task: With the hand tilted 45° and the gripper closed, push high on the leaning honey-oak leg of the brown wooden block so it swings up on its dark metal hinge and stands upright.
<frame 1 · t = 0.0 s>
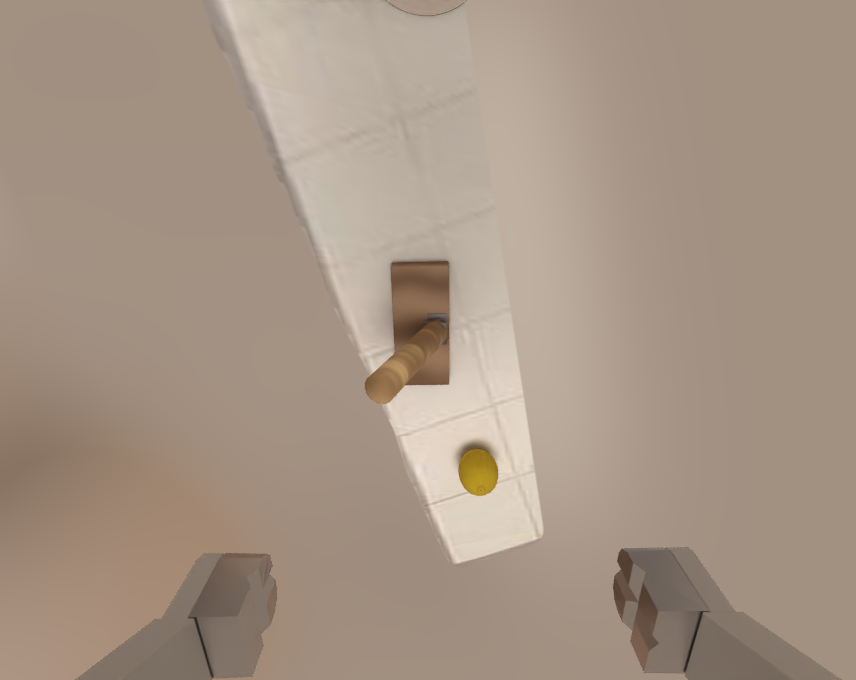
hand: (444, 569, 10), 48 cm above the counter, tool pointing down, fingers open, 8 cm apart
brown wooden block: (421, 322, 59), on the counter
lemon: (475, 453, 67), on the counter
folding leg: (413, 355, 49), point 11 cm above the counter, hinge at 20.0°
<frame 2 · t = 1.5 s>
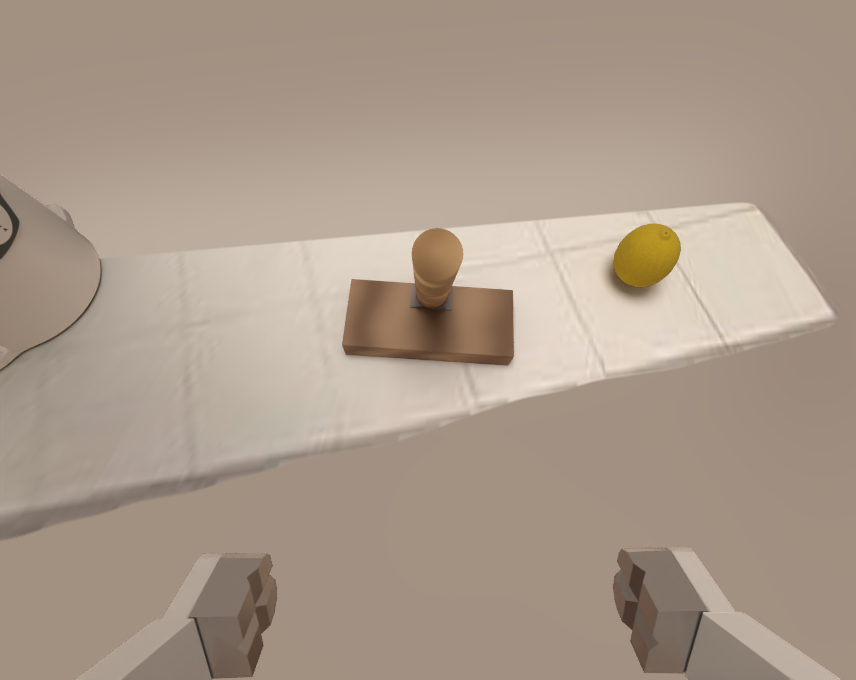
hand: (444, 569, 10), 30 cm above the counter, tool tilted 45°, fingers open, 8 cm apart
brown wooden block: (429, 327, 45), on the counter
lemon: (626, 278, 48), on the counter
folding leg: (433, 278, 35), point 11 cm above the counter, hinge at 20.0°
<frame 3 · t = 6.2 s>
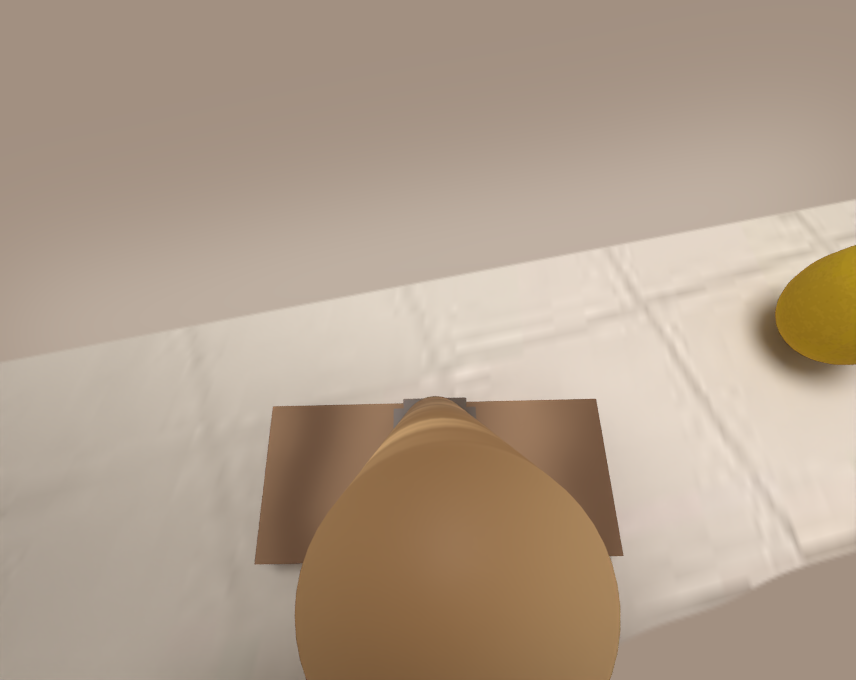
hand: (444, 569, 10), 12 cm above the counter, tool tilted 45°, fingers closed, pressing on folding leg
brown wooden block: (436, 481, 23), on the counter
lemon: (790, 339, 26), on the counter
folding leg: (438, 457, 13), point 11 cm above the counter, hinge at 17.5°, touching gripper
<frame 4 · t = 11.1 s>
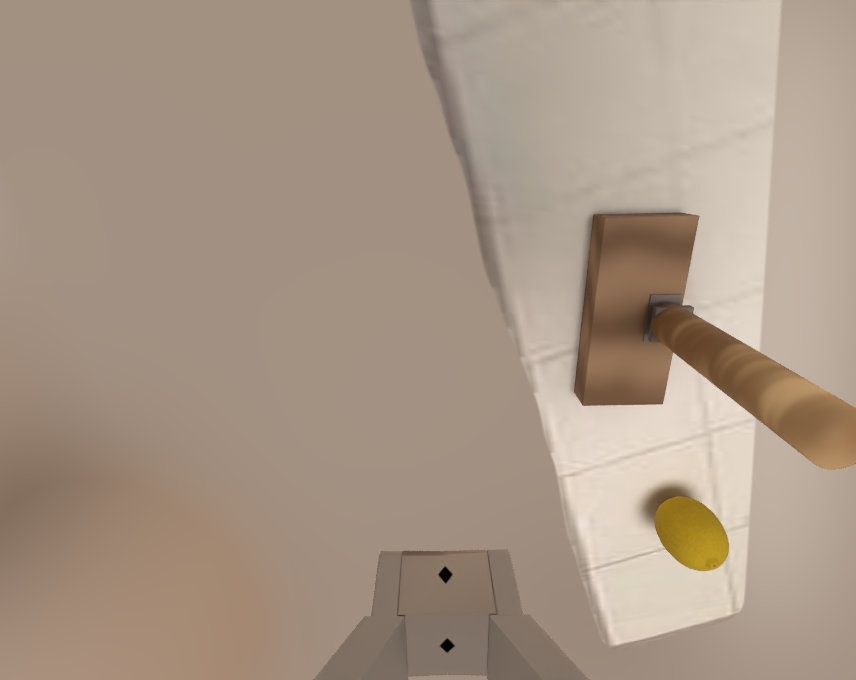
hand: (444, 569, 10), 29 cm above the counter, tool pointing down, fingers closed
brown wooden block: (623, 309, 39), on the counter
lemon: (667, 500, 46), on the counter
folding leg: (728, 363, 28), point 11 cm above the counter, hinge at 1.4°
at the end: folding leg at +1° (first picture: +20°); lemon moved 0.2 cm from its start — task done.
